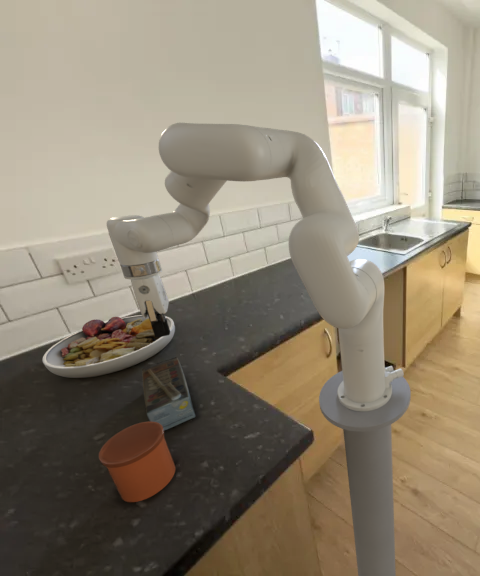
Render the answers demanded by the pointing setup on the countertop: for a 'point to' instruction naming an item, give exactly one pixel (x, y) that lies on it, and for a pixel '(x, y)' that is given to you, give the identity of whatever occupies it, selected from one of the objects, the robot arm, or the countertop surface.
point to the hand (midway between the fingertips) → (163, 334)
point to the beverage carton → (167, 394)
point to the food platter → (106, 347)
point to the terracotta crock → (138, 461)
